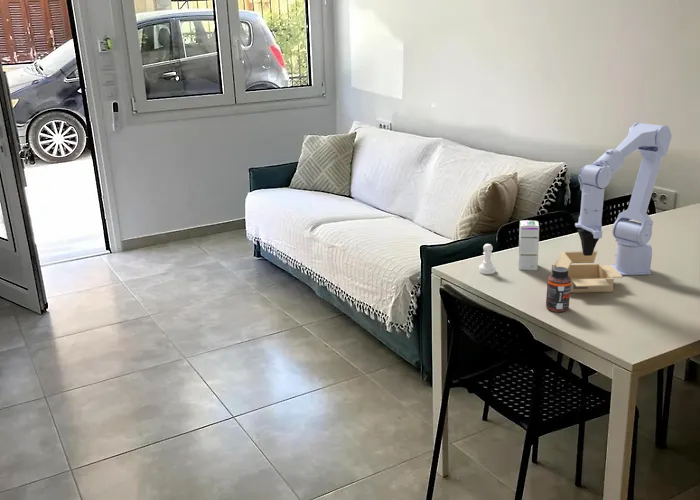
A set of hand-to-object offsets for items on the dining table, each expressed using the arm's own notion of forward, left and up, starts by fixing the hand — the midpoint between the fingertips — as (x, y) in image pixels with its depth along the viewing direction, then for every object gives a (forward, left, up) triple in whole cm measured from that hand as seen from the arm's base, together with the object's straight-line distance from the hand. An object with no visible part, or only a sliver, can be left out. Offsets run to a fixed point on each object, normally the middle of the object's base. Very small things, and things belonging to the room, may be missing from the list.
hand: (587, 254), depth 185 cm
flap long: (+7, -2, -5) cm, 9 cm away
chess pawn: (+25, -14, -10) cm, 31 cm away
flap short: (0, -8, -5) cm, 9 cm away
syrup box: (+12, -17, -10) cm, 23 cm away
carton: (-1, 0, -10) cm, 10 cm away
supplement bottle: (+11, +14, -10) cm, 21 cm away
